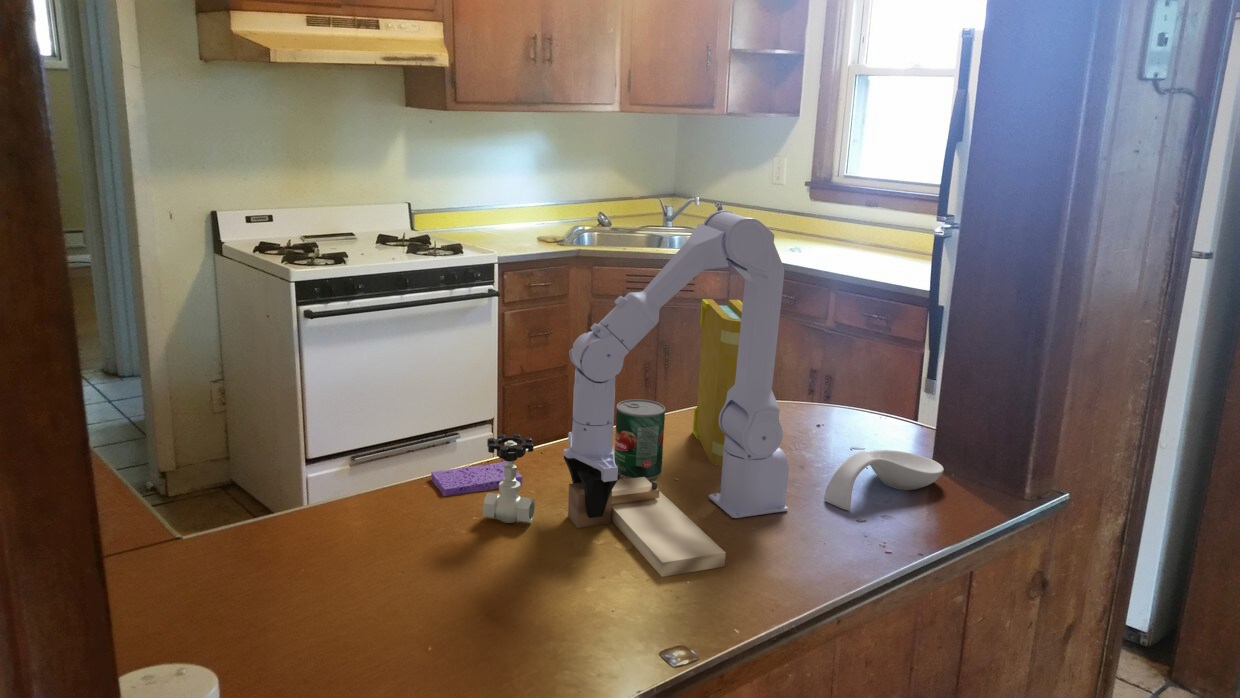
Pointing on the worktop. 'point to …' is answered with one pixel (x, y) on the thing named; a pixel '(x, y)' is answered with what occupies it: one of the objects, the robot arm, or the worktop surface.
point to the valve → (509, 482)
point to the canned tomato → (639, 438)
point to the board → (664, 533)
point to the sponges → (470, 478)
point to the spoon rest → (882, 473)
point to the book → (716, 372)
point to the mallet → (579, 505)
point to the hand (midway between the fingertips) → (589, 509)
